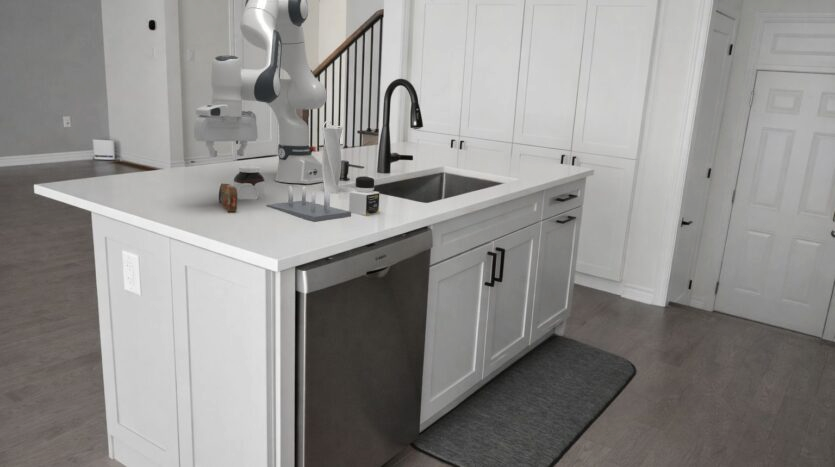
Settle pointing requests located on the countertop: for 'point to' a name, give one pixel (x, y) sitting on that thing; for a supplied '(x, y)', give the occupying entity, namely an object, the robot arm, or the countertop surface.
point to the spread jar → (249, 183)
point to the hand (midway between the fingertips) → (227, 156)
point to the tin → (228, 197)
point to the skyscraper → (331, 158)
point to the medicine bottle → (364, 197)
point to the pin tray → (310, 207)
